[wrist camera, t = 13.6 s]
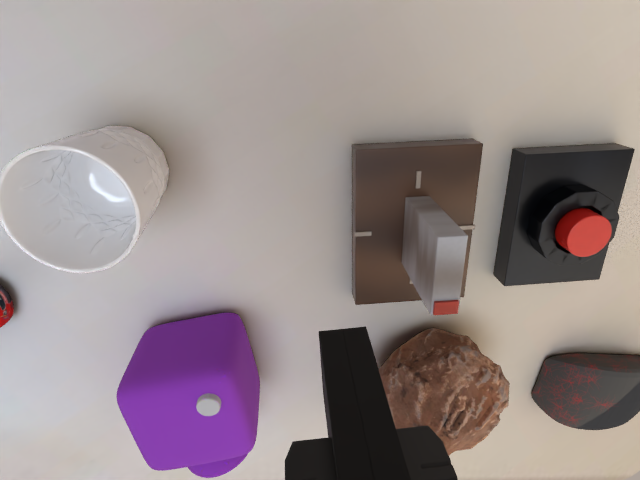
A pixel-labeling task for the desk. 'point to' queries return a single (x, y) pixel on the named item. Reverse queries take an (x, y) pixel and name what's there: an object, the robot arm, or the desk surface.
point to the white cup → (83, 197)
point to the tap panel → (389, 207)
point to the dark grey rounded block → (589, 389)
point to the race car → (5, 306)
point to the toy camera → (193, 395)
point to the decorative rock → (445, 388)
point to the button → (583, 232)
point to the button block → (557, 209)
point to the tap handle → (433, 254)
